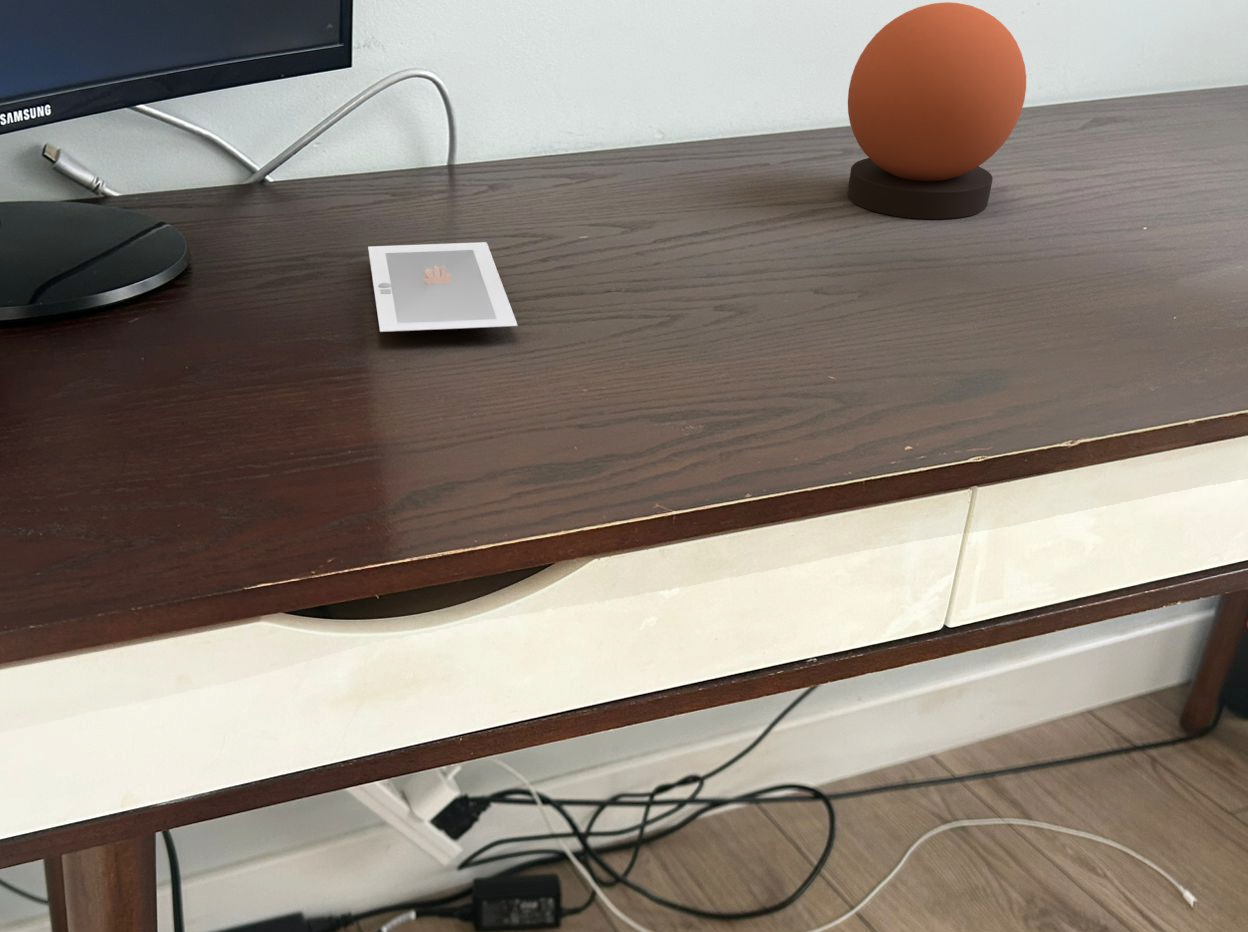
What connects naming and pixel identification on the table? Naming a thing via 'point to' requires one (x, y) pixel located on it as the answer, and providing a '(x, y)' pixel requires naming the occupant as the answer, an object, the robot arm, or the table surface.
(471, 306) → the touchpad
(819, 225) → the table surface
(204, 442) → the table surface
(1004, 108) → the ball
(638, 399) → the table surface
